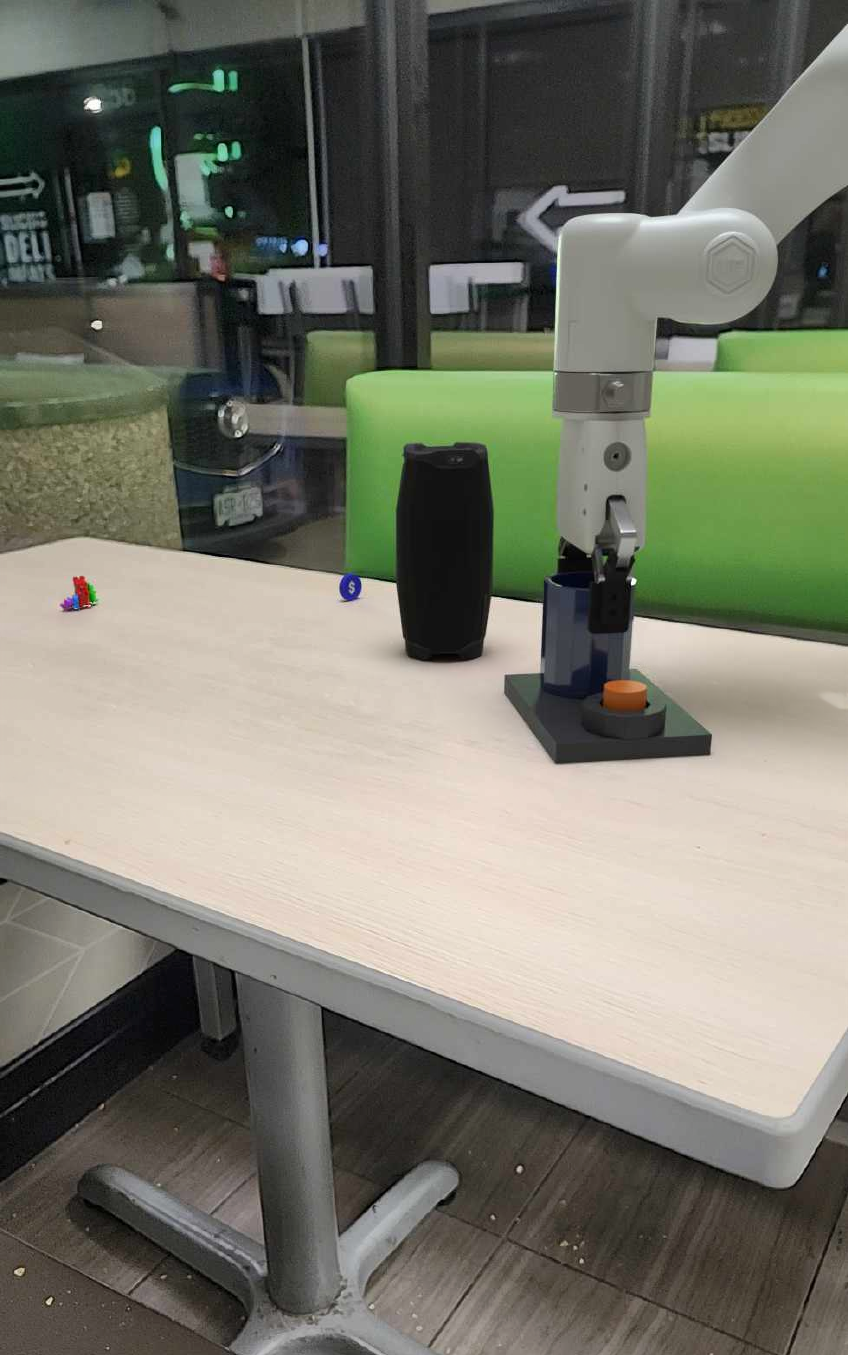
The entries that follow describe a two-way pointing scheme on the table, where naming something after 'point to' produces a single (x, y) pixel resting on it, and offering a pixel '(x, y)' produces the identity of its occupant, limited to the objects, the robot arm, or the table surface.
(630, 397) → the robot arm
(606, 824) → the table surface
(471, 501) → the portable speaker
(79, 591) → the colorful small pieces
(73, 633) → the table surface
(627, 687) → the switch
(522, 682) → the push button base
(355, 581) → the coin
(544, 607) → the blue cup
